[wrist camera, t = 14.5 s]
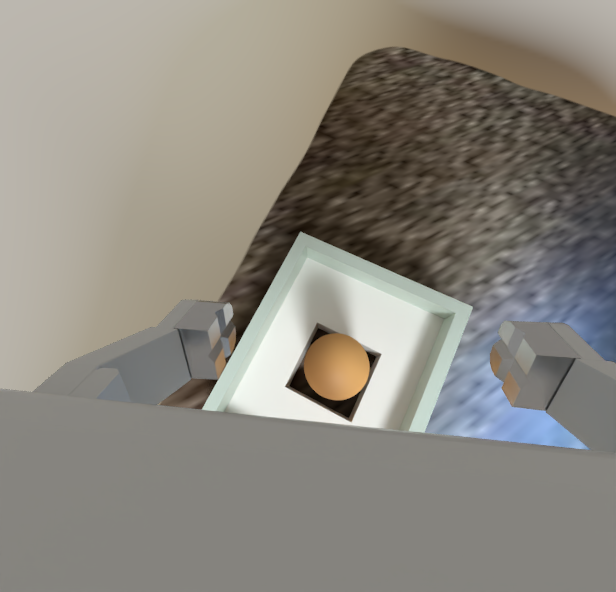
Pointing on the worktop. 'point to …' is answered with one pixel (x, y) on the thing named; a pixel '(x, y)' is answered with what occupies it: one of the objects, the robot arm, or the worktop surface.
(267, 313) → the bore box
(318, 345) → the peg
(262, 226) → the worktop surface
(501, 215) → the worktop surface
